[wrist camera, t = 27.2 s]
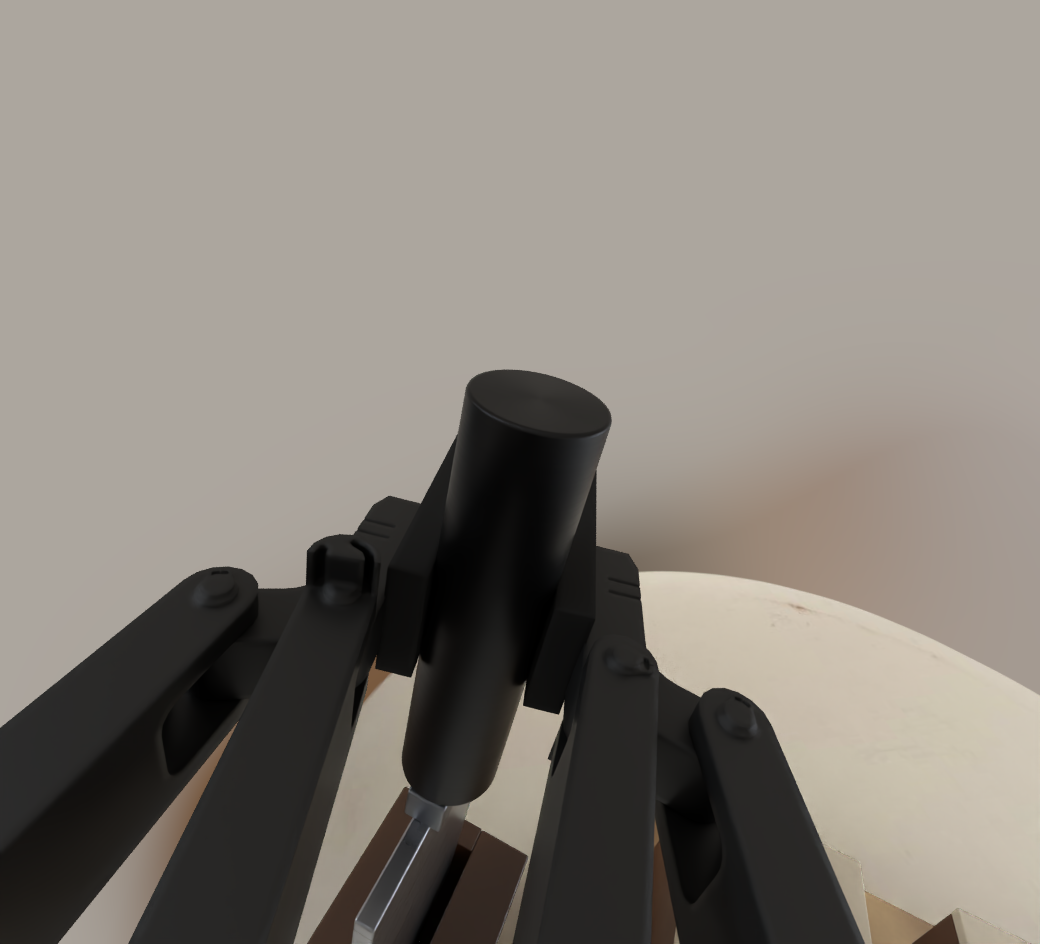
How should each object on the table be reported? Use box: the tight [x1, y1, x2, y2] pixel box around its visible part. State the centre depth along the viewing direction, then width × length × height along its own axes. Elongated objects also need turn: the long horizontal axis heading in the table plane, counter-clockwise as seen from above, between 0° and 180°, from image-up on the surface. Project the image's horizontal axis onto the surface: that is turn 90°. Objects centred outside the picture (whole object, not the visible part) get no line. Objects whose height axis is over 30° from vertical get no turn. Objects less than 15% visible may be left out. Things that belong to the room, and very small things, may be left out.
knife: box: [352, 370, 612, 944], centre depth 15 cm, size 2×7×23 cm, turn 158°
